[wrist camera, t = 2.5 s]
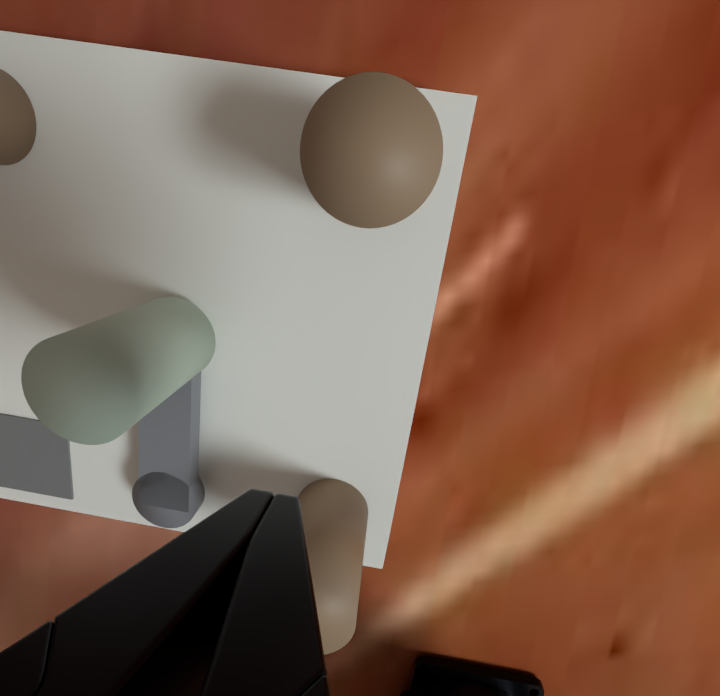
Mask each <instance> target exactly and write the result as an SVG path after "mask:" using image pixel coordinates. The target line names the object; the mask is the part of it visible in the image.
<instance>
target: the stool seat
mask: <svg viewBox="0 0 720 696" xmlns="http://www.w3.org/2000/svg"><path fill="white" fill-rule="evenodd" d="M476 100H477V96H474V95H467V94H459V93H452V92H445V91H437V90H430V89H423V88H416V87H414V86H413V85H412V84H410V83H409V82H407V81H405V80H403V79H402V78H399V77H397V76H394V75H391V74H387V73H382V72H365V73H359V74H355V75H351V76H349V77H346V78H343V77H335V76H328V75H321V74H313V73H306V72H299V71H292V70H284V69H277V68H270V67H262V66H255V65H248V64H241V63H233V62H226V61H219V60H211V59H204V58H197V57H189V56H182V55H175V54H168V53H160V52H153V51H146V50H138V49H131V48H124V47H117V46H109V45H102V44H95V43H87V42H80V41H73V40H66V39H58V38H51V37H44V36H36V35H29V34H22V33H14V32H7V31H0V498H4V499H9V500H15V501H20V502H26V503H31V504H36V505H42V506H47V507H52V508H58V509H63V510H69V511H74V512H79V513H85V514H90V515H95V516H101V517H106V518H111V519H117V520H122V521H128V522H133V523H138V524H144V525H149V526H154V527H159V526H157V525H154V524H152V523H150V522H149V521H147V520H146V519H145V518H144V517H142V516H141V514H140V513H139V512H138V511H137V509H136V507H135V506H134V503H133V499H132V489H133V486H134V484H135V482H136V481H137V480H138V479H139V459H138V422H137V423H136V424H134V425H133V426H132V427H131V428H129V429H128V430H127V431H126V432H124V433H123V434H122V435H121V436H119V437H118V438H116V439H115V440H113V441H110V442H108V443H104V444H99V445H84V444H79V443H75V442H72V441H69V440H66V439H64V438H62V437H60V436H58V435H57V434H55V433H54V432H52V431H51V430H50V429H48V428H47V427H46V426H45V425H44V424H43V423H42V422H41V421H40V420H39V419H38V418H37V417H36V416H35V414H34V413H33V411H32V410H31V408H30V406H29V405H28V403H27V400H26V398H25V395H24V392H23V388H22V383H21V373H22V366H23V363H24V360H25V358H26V356H27V354H28V353H29V351H30V350H31V349H32V348H33V347H34V346H35V345H36V344H38V343H39V342H41V341H43V340H45V339H47V338H50V337H53V336H55V335H58V334H61V333H64V332H66V331H69V330H72V329H75V328H78V327H80V326H83V325H86V324H89V323H91V322H94V321H97V320H100V319H102V318H105V317H108V316H111V315H113V314H116V313H119V312H122V311H125V310H127V309H130V308H133V307H136V306H138V305H141V304H144V303H147V302H149V301H152V300H155V299H158V298H161V297H177V298H182V299H184V300H187V301H189V302H191V303H193V304H194V305H196V306H197V307H198V308H199V309H200V310H201V311H202V312H203V313H204V314H205V315H206V316H207V318H208V319H209V321H210V323H211V325H212V327H213V330H214V333H215V339H216V346H215V352H214V355H213V358H212V360H211V361H210V363H209V364H208V365H207V366H206V367H205V368H204V369H203V370H202V371H201V401H200V435H199V469H198V476H199V477H200V479H201V480H202V482H203V485H204V489H205V497H204V501H203V503H202V505H201V506H200V508H199V509H198V511H197V512H196V513H195V515H194V516H193V518H192V519H191V520H190V521H189V522H188V523H187V524H185V525H184V526H181V527H178V528H165V529H171V530H176V531H181V532H186V531H187V530H189V529H190V528H192V527H193V526H195V525H196V524H198V523H199V522H201V521H202V520H204V519H205V518H207V517H208V516H210V515H211V514H213V513H214V512H216V511H218V510H219V509H221V508H222V507H224V506H225V505H227V504H228V503H230V502H231V501H233V500H234V499H236V498H237V497H239V496H240V495H242V494H243V493H245V492H246V491H248V490H250V489H259V490H265V491H270V492H273V493H274V496H275V494H278V493H281V494H287V495H292V496H297V497H298V498H299V500H300V506H301V513H302V519H303V525H304V532H305V538H306V544H307V550H308V557H309V563H310V569H311V576H312V582H313V588H314V594H315V601H316V607H317V613H318V619H319V626H320V632H321V638H322V645H323V651H324V655H326V654H330V653H333V652H335V651H337V650H339V649H341V648H342V647H344V646H345V645H346V644H347V643H348V642H349V641H350V640H351V638H352V637H353V635H354V632H355V629H356V620H357V611H358V602H359V593H360V584H361V575H362V566H363V565H364V566H369V567H375V568H380V569H383V564H384V559H385V554H386V549H387V544H388V539H389V534H390V529H391V524H392V519H393V514H394V509H395V504H396V499H397V494H398V489H399V484H400V479H401V474H402V469H403V464H404V459H405V454H406V449H407V444H408V439H409V434H410V429H411V424H412V419H413V414H414V409H415V404H416V399H417V394H418V390H419V385H420V380H421V375H422V370H423V365H424V360H425V355H426V350H427V345H428V340H429V335H430V330H431V325H432V320H433V315H434V310H435V305H436V300H437V295H438V290H439V285H440V280H441V275H442V270H443V265H444V260H445V255H446V250H447V245H448V240H449V235H450V230H451V225H452V220H453V215H454V210H455V205H456V200H457V195H458V190H459V185H460V180H461V175H462V170H463V165H464V160H465V155H466V150H467V145H468V140H469V135H470V130H471V125H472V120H473V115H474V110H475V105H476ZM160 528H163V527H160Z"/></svg>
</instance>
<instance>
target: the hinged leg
mask: <svg viewBox="0 0 720 696" xmlns="http://www.w3.org/2000/svg"><path fill="white" fill-rule="evenodd" d="M215 346H216V339H215V333H214V330H213V327H212V325H211V323H210V321H209V319H208V318H207V316H206V315H205V314H204V313H203V312H202V311H201V310H200V309H199V308H198V307H197V306H196V305H194V304H193V303H191V302H189V301H187V300H184V299H182V298H177V297H161V298H158V299H155V300H152V301H149V302H147V303H144V304H141V305H138V306H136V307H133V308H130V309H127V310H125V311H122V312H119V313H116V314H113V315H111V316H108V317H105V318H102V319H100V320H97V321H94V322H91V323H89V324H86V325H83V326H80V327H78V328H75V329H72V330H69V331H66V332H64V333H61V334H58V335H55V336H53V337H50V338H47V339H45V340H43V341H41V342H39V343H38V344H36V345H35V346H34V347H33V348H32V349H31V350H30V351H29V353H28V354H27V356H26V358H25V360H24V363H23V366H22V373H21V383H22V388H23V392H24V395H25V398H26V400H27V403H28V405H29V406H30V408H31V410H32V411H33V413H34V414H35V416H36V417H37V418H38V419H39V420H40V421H41V422H42V423H43V424H44V425H45V426H46V427H47V428H48V429H50V430H51V431H52V432H54V433H55V434H57V435H58V436H60V437H62V438H64V439H66V440H69V441H72V442H75V443H79V444H84V445H99V444H104V443H108V442H110V441H113V440H115V439H116V438H118V437H119V436H121V435H122V434H123V433H124V432H126V431H127V430H128V429H129V428H131V427H132V426H133V425H134V424H136V423H137V422H138V459H139V479H138V480H137V481H136V482H135V484H134V486H133V489H132V499H133V503H134V506H135V507H136V509H137V511H138V512H139V513H140V514H141V516H142V517H144V518H145V519H146V520H147V521H149V522H150V523H152V524H154V525H157V526H159V527H163V528H178V527H181V526H184V525H185V524H187V523H188V522H189V521H190V520H191V519H192V518H193V516H194V515H195V513H196V512H197V511H198V509H199V508H200V506H201V505H202V503H203V501H204V497H205V489H204V485H203V482H202V480H201V479H200V477H199V476H198V469H199V435H200V401H201V371H202V370H203V369H204V368H205V367H206V366H207V365H208V364H209V363H210V361H211V360H212V358H213V355H214V352H215Z"/></svg>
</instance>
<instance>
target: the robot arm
mask: <svg viewBox="0 0 720 696" xmlns="http://www.w3.org/2000/svg"><path fill="white" fill-rule="evenodd" d="M326 675H327V670H326V663H325V657H324V651H323V645H322V638H321V632H320V626H319V619H318V613H317V607H316V601H315V594H314V588H313V582H312V576H311V569H310V563H309V557H308V550H307V544H306V538H305V532H304V525H303V519H302V513H301V506H300V500H299V498H298V497H297V496H292V495H287V494H281V493H278V494H275V496H274V493H273V492H270V491H265V490H259V489H250V490H248V491H246V492H245V493H243V494H242V495H240V496H239V497H237V498H236V499H234V500H233V501H231V502H230V503H228V504H227V505H225V506H224V507H222V508H221V509H219V510H218V511H216V512H214V513H213V514H211V515H210V516H208V517H207V518H205V519H204V520H202V521H201V522H199V523H198V524H196V525H195V526H193V527H192V528H190V529H189V530H187V531H186V532H184V533H182V534H181V535H179V536H178V537H176V538H175V539H173V540H172V541H170V542H169V543H167V544H166V545H164V546H163V547H161V548H160V549H158V550H157V551H155V552H154V553H152V554H150V555H149V556H147V557H146V558H144V559H143V560H141V561H140V562H138V563H137V564H135V565H134V566H132V567H131V568H129V569H128V570H126V571H125V572H123V573H122V574H120V575H118V576H117V577H115V578H114V579H112V580H111V581H109V582H108V583H106V584H105V585H103V586H102V587H100V588H99V589H97V590H96V591H94V592H93V593H91V594H90V595H88V596H86V597H85V598H83V599H82V600H80V601H79V602H77V603H76V604H74V605H73V606H71V607H70V608H68V609H67V610H65V611H64V612H62V613H61V614H59V615H58V616H56V617H55V619H54V624H53V622H52V621H48V622H46V623H45V624H43V625H42V626H40V627H39V628H37V629H36V630H34V631H33V632H31V633H30V634H28V635H27V636H25V637H24V638H22V639H21V640H19V641H18V642H16V643H14V644H13V645H11V646H10V647H8V648H6V649H5V650H3V651H2V652H0V696H331V693H330V686H329V680H328V678H327V677H326ZM400 696H544V689H543V686H542V683H541V681H540V680H539V679H537V678H534V677H529V676H524V675H519V674H514V673H509V672H503V671H498V670H493V669H488V668H483V667H478V666H473V665H467V664H462V663H457V662H452V661H447V660H442V659H437V658H431V657H426V656H422V657H418V658H417V659H416V660H415V662H414V666H413V670H412V674H411V678H410V682H409V686H408V690H404V691H403V692H402V693H401V694H400Z"/></svg>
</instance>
